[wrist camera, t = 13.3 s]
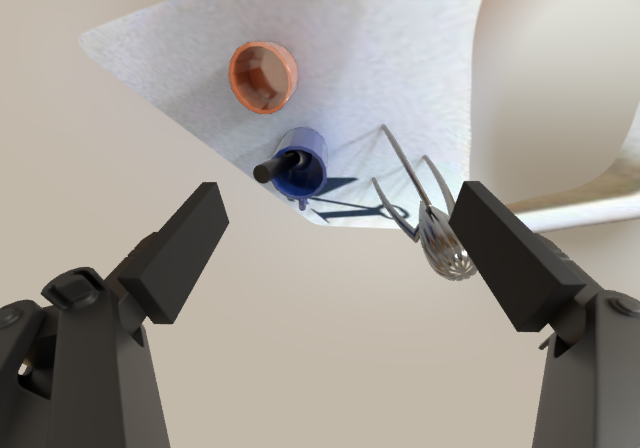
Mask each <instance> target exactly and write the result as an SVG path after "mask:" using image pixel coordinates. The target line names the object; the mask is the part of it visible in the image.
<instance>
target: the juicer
mask: <svg viewBox="0 0 640 448" xmlns="http://www.w3.org/2000/svg"><path fill="white" fill-rule="evenodd" d="M382 128H383V130H384V132H385V134H386V136H387V138H388V139H389V141H390V143H391V145H392V147H393V148H394V150H395V152H396V154H397V155H398V157H399V159H400V161H401V162H402V164H403V166H404V168H405V170H406V171H407V173H408V175H409V177H410V178H411V180H412V182H413V184H414V186H415V188H416V190H417V192H418V193H419V195H420V197H421V199H422V201H421V200H420V208H419V224H418V225H417V227H416V228H415V229H414V228H413V227H412V226H411V225H410V224H408V223H407V222H406V221H405V220H404V219H403V218H402V217H401V216H400V215H399V214H398V212H397V211H396V210H395V209H394V208H393V206H392V205H391V204H390V202H389V201H388V200H387V198H386V197H385V195H384V194H383V192H382V190H381V188H380V187H379V185H378V183H377V181H376V179H375V178H372V181H373V184H374V187H375V189H376V191H377V193H378V195H379V197H380V199H381V201H382V203H383V205H384V206H385V208H386V209H387V211H388V212H389V214H390V215H391V216H392V218H393V219H394V220H395V222H396V223H397V224H398V225H399V226H400V228H401V229H402V230H403V231H404V232H405V233H406V234H407V235H408V236H409V237H410V238H411V239H412V240H413V241H414V242H415V243H417V242H418V240H419V239H420V240H421V245H422V248H423V250H424V253H425V256H426V258H427V260H428V262H429V264H430V266H431V267H432V268H433V269H434V271H435V272H436V273H437V274H439V275H440V276H442V277H444V278H446V279H448V280H453V281H454V280H456V281H461V280H463V279H469V278H470V277H471V276H473V275H475V274H476V272H477V268H476V266H475V265H474V263H473V262H472V260H471V259H470V257H469V255H468V254H467V252H466V251H465V249H464V248H463V246H462V245H461V243H460V241H459V240H458V238H457V237H456V235H455V234H454V232H453V230H452V229H451V227H450V226H449V224H448V222H449V219H450V217H451V214H452V211H453V209H454V206H455V202H454V199H453V197H452V195H451V192H450V190H449V188H448V186H447V184H446V183H445V181H444V179H443V177H442V176H441V174H440V173H439V171H438V170H437V168H436V167H435V165H434V164H433V163H432V161H431V160H430V159H429V158H428V157H427V156H426V155H425V156H424V157H423V158H424V160H425V161H426V163H427V164H428V166H429V168H430V169H431V171H432V173H433V175H434V176H435V178H436V180H437V182H438V184H439V186H440V189H441V191H442V193H443V196H444V199H445V202H446V205H447V209H448V213H449V216H448V215H447V214H445V213H444V212H442V211H440V210H439V209H437V208H435V207H433V206H431V202H430V201H429V199H428V197H427V195H426V193H425V191H424V190H423V188H422V186H421V184H420V182H419V180H418V179H417V177H416V175H415V173H414V171H413V169H412V167H411V166H410V164H409V162H408V160H407V158H406V156H405V155H404V153H403V151H402V149H401V148H400V146H399V144H398V143H397V141H396V140H395V138H394V137H393V135H392V134H391V132H390V131H389V129H388V128H387V126H386V125H385V124H384V125H382Z"/></svg>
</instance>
